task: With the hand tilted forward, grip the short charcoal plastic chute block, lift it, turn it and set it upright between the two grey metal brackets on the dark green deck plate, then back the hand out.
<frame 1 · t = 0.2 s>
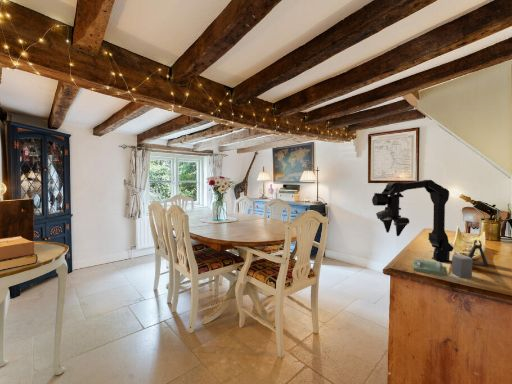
hand: (392, 234, 133), 15 cm above the sideboard top, tool pointing down, fingers open, 9 cm apart
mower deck: (428, 268, 122), on the sideboard top
dark a-frame stand: (476, 263, 130), on the sideboard top
chute block: (461, 275, 114), on the sideboard top
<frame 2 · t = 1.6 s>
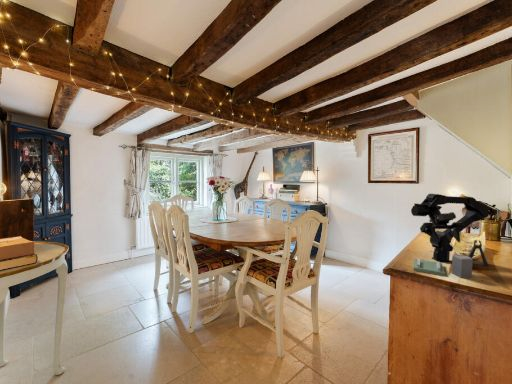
hand: (449, 241, 121), 14 cm above the sideboard top, tool tilted 45°, fingers open, 9 cm apart
nothing on the sideboard top moved.
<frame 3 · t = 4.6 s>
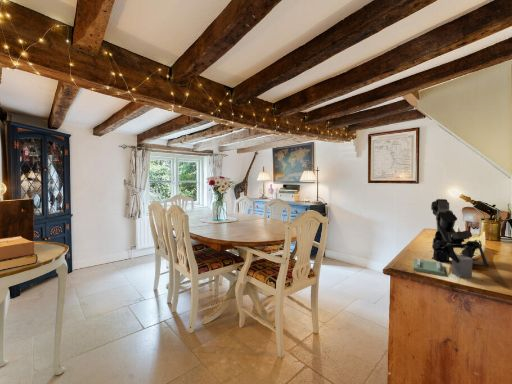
hand: (464, 262, 112), 7 cm above the sideboard top, tool tilted 45°, fingers closed on chute block, 5 cm apart
chute block: (461, 275, 114), on the sideboard top, touching gripper
everything else where it was.
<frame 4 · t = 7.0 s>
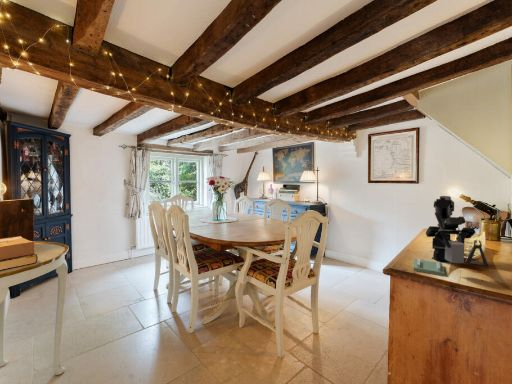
hand: (456, 247, 113), 13 cm above the sideboard top, tool tilted 45°, fingers closed on chute block, 5 cm apart
chute block: (453, 261, 115), point 6 cm above the sideboard top, touching gripper
everything else where it was.
when the fingers open (10 cm above the sideboard top, at t = 9.2 s): chute block drops 2 cm, resting on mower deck.
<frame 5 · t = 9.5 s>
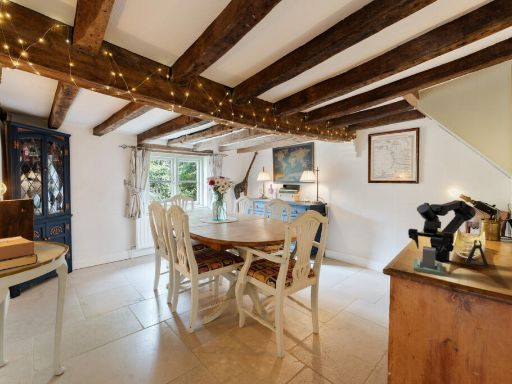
hand: (428, 250, 121), 10 cm above the sideboard top, tool tilted 45°, fingers open, 9 cm apart
chute block: (428, 266, 122), point 1 cm above the sideboard top, touching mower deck
everything else where it was.
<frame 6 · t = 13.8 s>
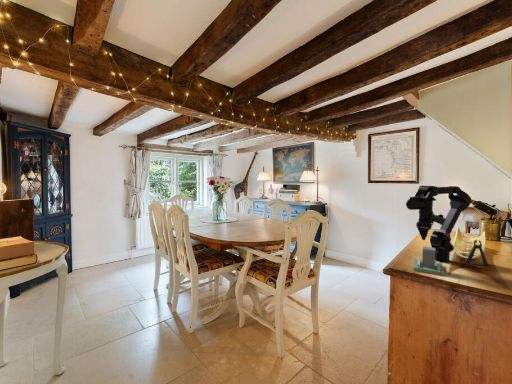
hand: (424, 238, 131), 13 cm above the sideboard top, tool pointing down, fingers open, 9 cm apart
nothing on the sideboard top moved.
at the end: chute block 0.1 cm off-centre on the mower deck, point 1.5 cm above the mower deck's base; chute block tilted 0°; the gripper is holding nothing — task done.
